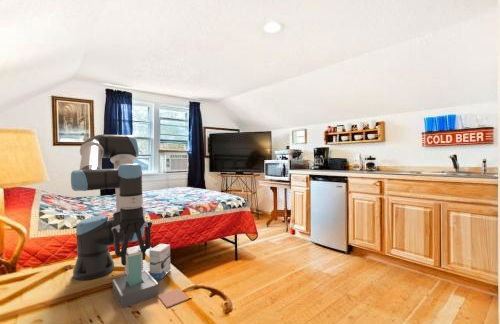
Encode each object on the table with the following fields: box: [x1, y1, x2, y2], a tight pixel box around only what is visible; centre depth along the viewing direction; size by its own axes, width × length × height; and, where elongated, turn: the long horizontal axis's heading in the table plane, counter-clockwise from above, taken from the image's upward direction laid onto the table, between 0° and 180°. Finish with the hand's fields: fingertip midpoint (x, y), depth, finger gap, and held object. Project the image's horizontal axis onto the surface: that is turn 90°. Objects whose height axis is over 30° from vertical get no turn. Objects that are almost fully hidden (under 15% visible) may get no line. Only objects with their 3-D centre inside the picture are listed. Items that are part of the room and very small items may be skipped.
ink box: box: [148, 243, 172, 281], centre depth 107 cm, size 8×5×12 cm, turn 168°
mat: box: [157, 287, 190, 309], centre depth 91 cm, size 9×9×1 cm
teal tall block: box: [126, 247, 142, 287], centre depth 94 cm, size 4×4×13 cm
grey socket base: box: [112, 269, 159, 309], centre depth 94 cm, size 14×12×4 cm
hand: (133, 270), depth 94 cm, fingers closed on teal tall block, 4 cm apart
